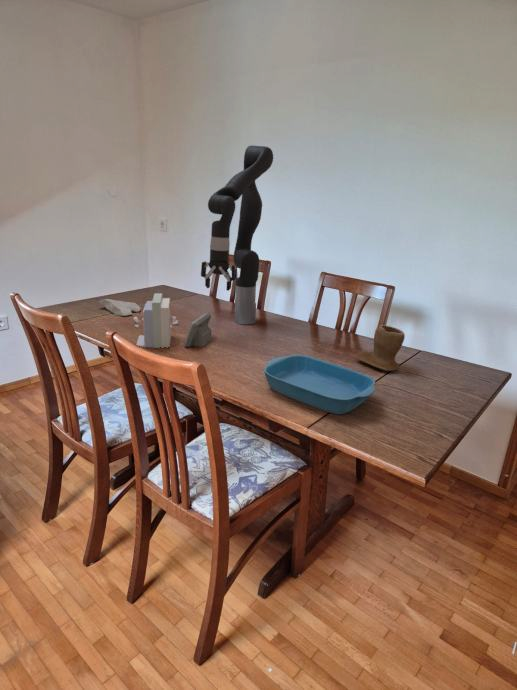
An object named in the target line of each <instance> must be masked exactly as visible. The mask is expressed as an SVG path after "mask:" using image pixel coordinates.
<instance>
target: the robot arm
mask: <svg viewBox="0 0 517 690" xmlns="http://www.w3.org/2000/svg"><path fill="white" fill-rule="evenodd" d="M273 162H274V152H273V150H272V148H270V147H268V146H263V145H248V146H247V147H246V149H245V151H244V155H243V170H241V171H239V172H238V173H236V174H235V175H233V176H232V177H231V179H229V181H228V182H227V183H226V184H225V186H223V187H221V188H220V189H218V190H217V191H216V192H214V193H212V195H211V196H210V197H209V199H208V202H207V207H208V211H210V213H212V214H215V215H220V219H218V220H215V221H213V222H212V223H211V231H210V232H211V237H210V243H209V262H207V261H206V260H205V261H202V262H201V270H200V276H201V277H202V278H204V280H205V282H204V283H205V284H204V286H205V287H206V289H210V287H211V276H212V275H213V274H214V275H220V276H222V275H223V277H224V278H225V279H226V291H228V292H229V291H230V290H231V289H232V281H235V290H234V291H235V293H234V294H235V297H234V299H235V300H234V301H235V302H234V322H235V324H238V325H252V324H256V316H257V313H256V312H257V302H256V296H257V295H256V294H257V293H256V291H257V282H258V280H259V271H260V257H259V254H258V253H257V252H256V251H254V250H252V242H253V241H252V240H253V238H254V234H255V232H256V230H257V228H258V226H259V224H260V221H261V218H262V211H263V210H262V209H263V200H262V198H261V194H260V192H259V190H258V187H257V184H256V180H257V179H259V178H260V177H262V175H264V174H265V173H266V172H267V171H269V170H270V168H271V166H272V165H273ZM240 198H241V199H240ZM239 199H240V200H241V201H240V209H239V219H238V227H237V228H238V229H237V237H236V242H235V247H234V252H233V264H230V262H229V259H230V227H231V225H232V221H233V218H234V214H235V212H236V201H238V200H239ZM208 267H209V269H210V270H209V271H207V268H208ZM237 268H238V269H240V271H239V277H237ZM229 269H230V271H231V275H230V272H229V271H228V270H229Z"/></svg>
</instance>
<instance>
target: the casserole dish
mask: <svg viewBox="0 0 517 690" xmlns="http://www.w3.org/2000/svg"><path fill="white" fill-rule="evenodd" d="M263 371H264V372H263V373H264V376H265V378H266V382H267V384H268V385H269V387H270V388H271V389H272V390H273V391H275V392H277V393H279V394H281V395H283V396H285V397H288V398H290V399H293V400H295V401H297V402H300V403H302V404H306V405H308V406H311V407H312V408H313V407H314V409H315V408H316V409H319V410H322V411H324V412H326V413H330V414H335V415H343V414H344V415H345V414H346V413H350V412H351V411H353V410H354V409H356V408H357V407H359V406H360V405H362V404H363V403H364V402H365V401H366V400H367V399H368V398H369V397H371V396H372V395H373V394H374V393H375V392H376V387H375V386H376V385H375V384H376V381H375V379H374V378H373V377H371V376H370V375H368V374H365V373H362V372H359V371H358V370H353V369H351V368H349V367H344V366H342V365H338V364H336V363H332V362H329V361H326V360H323V359H320V358H316V357H313V356H309V355H304V354H291V355H288V356H280V357H279V356H277V357H275V358H273V359H270V360H269V361H267V363H266V366H265V367H264V368H263Z"/></svg>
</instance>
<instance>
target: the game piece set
mask: <svg viewBox="0 0 517 690" xmlns="http://www.w3.org/2000/svg"><path fill="white" fill-rule="evenodd" d="M141 320H142V321H143V317H142V319H141ZM141 320H140V319H139V318H138V317H137V316H134V317H133V321H135V325H134V327H135V328H140V325H139V324H140V323H141ZM177 324H179V320H178V319H177V317H176V316H172V324H171V330H172V329H173V326H172V325H174V326H177ZM142 329H143V331H144V328H142Z"/></svg>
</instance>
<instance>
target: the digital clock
mask: <svg viewBox="0 0 517 690" xmlns="http://www.w3.org/2000/svg"><path fill="white" fill-rule="evenodd" d="M211 318H212V314H211V313H209V312H205V313H204V314H202V315H200V316H199V317H198V318H197V319H195V320H193V321H192V322H191V324H190V325H189V328H188V332H187V335H186V338H185V341H184V342H183V344H184V347H186V348H189V347H191V346H193V345H194V347H199V348H200V347H202V348H204V347H205V346H206V345H207V344H208V343H209V342H211V341H212V337H213V336H212V329H211V328H210V327H209V323H210V320H211Z"/></svg>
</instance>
